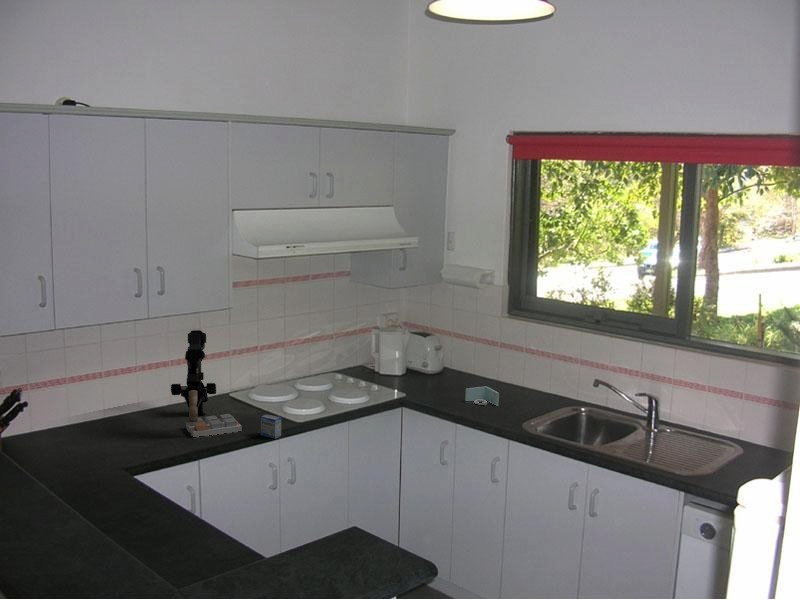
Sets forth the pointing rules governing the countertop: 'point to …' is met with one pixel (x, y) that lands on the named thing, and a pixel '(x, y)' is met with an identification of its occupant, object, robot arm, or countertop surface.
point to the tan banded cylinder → (193, 406)
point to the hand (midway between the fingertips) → (193, 406)
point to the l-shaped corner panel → (482, 395)
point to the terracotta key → (200, 426)
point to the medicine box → (270, 426)
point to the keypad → (215, 425)
